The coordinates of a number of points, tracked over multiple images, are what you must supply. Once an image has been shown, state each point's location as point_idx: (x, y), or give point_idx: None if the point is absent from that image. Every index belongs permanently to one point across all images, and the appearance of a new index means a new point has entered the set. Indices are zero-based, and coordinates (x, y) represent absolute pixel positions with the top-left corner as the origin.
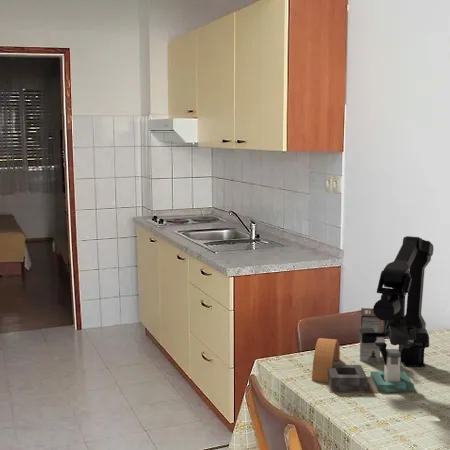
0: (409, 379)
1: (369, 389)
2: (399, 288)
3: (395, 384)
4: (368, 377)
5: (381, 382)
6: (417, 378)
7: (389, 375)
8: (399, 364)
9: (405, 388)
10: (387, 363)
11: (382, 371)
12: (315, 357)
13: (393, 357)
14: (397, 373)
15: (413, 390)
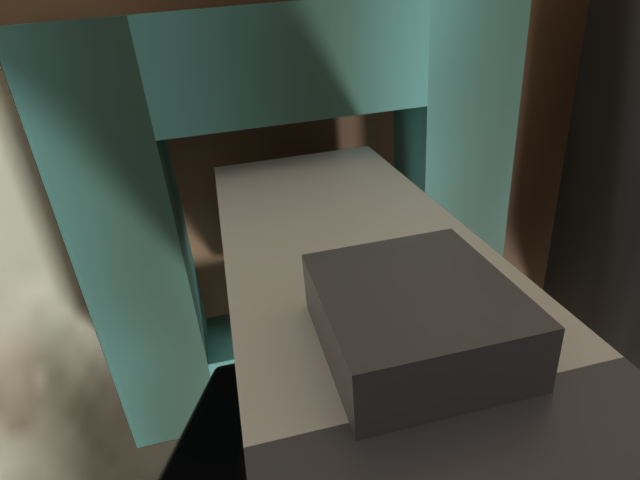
0: (75, 237)
1: (551, 38)
2: None
3: (293, 18)
4: None
5: (468, 72)
6: (19, 456)
7: (375, 184)
8: (249, 306)
9: (142, 13)
10: (509, 276)
11: None
12: None
13: (505, 352)
14: (262, 216)
15: (26, 21)
